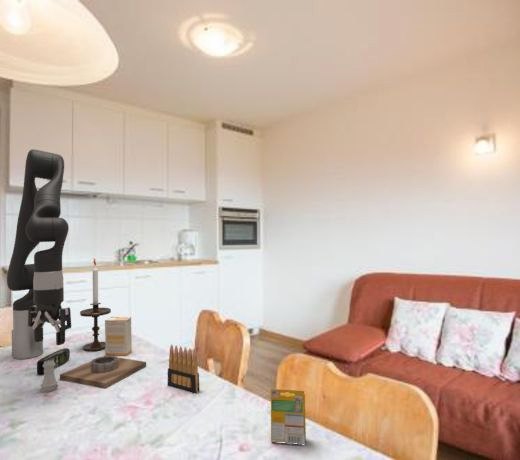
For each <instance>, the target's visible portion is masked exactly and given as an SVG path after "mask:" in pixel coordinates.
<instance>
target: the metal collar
mask: <svg viewBox="0 0 520 460" xmlns="http://www.w3.org/2000/svg"><path fill="white" fill-rule="evenodd" d="M102 356H103V357H102ZM102 356H98V357H96V358H94V359H92V360H91V371H92V372H95V373H105V372H110V371H113V370H115V369H117V368H118V366H119V358H120V357H118V356H117V355H105V356H104V355H102Z"/></svg>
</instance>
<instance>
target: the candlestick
mask: <svg viewBox="0 0 520 460" xmlns="http://www.w3.org/2000/svg"><path fill="white" fill-rule="evenodd" d="M93 265H94V266H93V269H92V303H90V304H89V305H90V306H92V308H86V309H83V310H80V312H79V316H81V317H87V318H88V317H89V318H90V317H91V318H92V319H93V327H92V328H91V330H92V331H93V334H92V337H93V341H92V342H90V343H89V342H88V343H86V344H84V345H83V346H82V350H83V351H84V352H87V353H88V352H92V353H93V352H99V351H103V350H106V348H105V341H100V340H99V335H100V333H99V331H100V328H101V327H100V326H98V323H99V320H98V318H99V317H100V316H105V315H109V314H110V313H112V310H111V308H110V307H99V305H101V304H102V303H101V302H99V269H98V268H97V262H96V259H95V258H93Z"/></svg>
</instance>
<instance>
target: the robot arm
mask: <svg viewBox="0 0 520 460" xmlns="http://www.w3.org/2000/svg"><path fill="white" fill-rule="evenodd" d="M24 167H25V169H24V177H23V178H24V180H23V186H22V187H23V189H22V196H21V203H20V207H19V212H18V217H17V222H16V223H17V224H16V232H15V238H14V244H13V250H12V254H11V258H10V262H9V266H8V269H7V274H6V285H7V287H8V289H9V290H10V291H13V292H18V291H19V292H21V291H27V290H28V292H27V293H26V294H25V295H24V296H22V297H20V298H18V299H16V300H14V301H13V303H12V330H11V357H13V358H14V359H16V360H24V359H25V360H27V359H32V358H36V357H38V356H40V355H43V354H44V325H45V324H46V323H48V324H50V325H51V327H54V329H55V331H56V332H55V342H56V343H55V344H56V346H60V345H61V346H62V345H64V344H65V343H66V331H67V330H68V329H72V317H71V316H72V315H71V307H64V308H63V307H62V303H63V302H64V300H65V297H64V296H65V295H64V294H65V293H64V274H63V251H64V246H65V243H66V239H67V236H68V233H69V224H68V221H67V220H66V219H65V218H63V217H61V212H62V211H61V207H62V206H61V195H62V193H61V192H62V188H63V179H64V174H65V159H64V157H63V156H62V155H60V154H58V153H54V152H49V151H44V150H38V149H34V148H33V149H30V150H29V151H28V152H27V155H26V159H25V166H24ZM36 178H37V179H43V180H49V181H48V182H47V183H46V184H44V185H42V186H41V187H40V188H38V189H37V185H36ZM46 242H47V243H51V242H53V243H54V245H53V246H52V247H50V248H47V249H43V250H38V251H36V252H35V253H34V254H33V256H34V257H33V263H28V264H27V263H26V262H27V260H28V258H29V255H31V253H32V252H33V251H34V249H35V248H36V247H38V245H39V244H40V243H46Z"/></svg>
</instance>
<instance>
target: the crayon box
mask: <svg viewBox="0 0 520 460" xmlns="http://www.w3.org/2000/svg"><path fill="white" fill-rule="evenodd" d="M306 427H307V426H306V394H305V390H297V389H293V390H292V389H281V388H280V389H277V388H271V389H270V443H271V442H285V443H297V444H305V445H306V439H307V435H306V434H307V432H306V429H307V428H306Z"/></svg>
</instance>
